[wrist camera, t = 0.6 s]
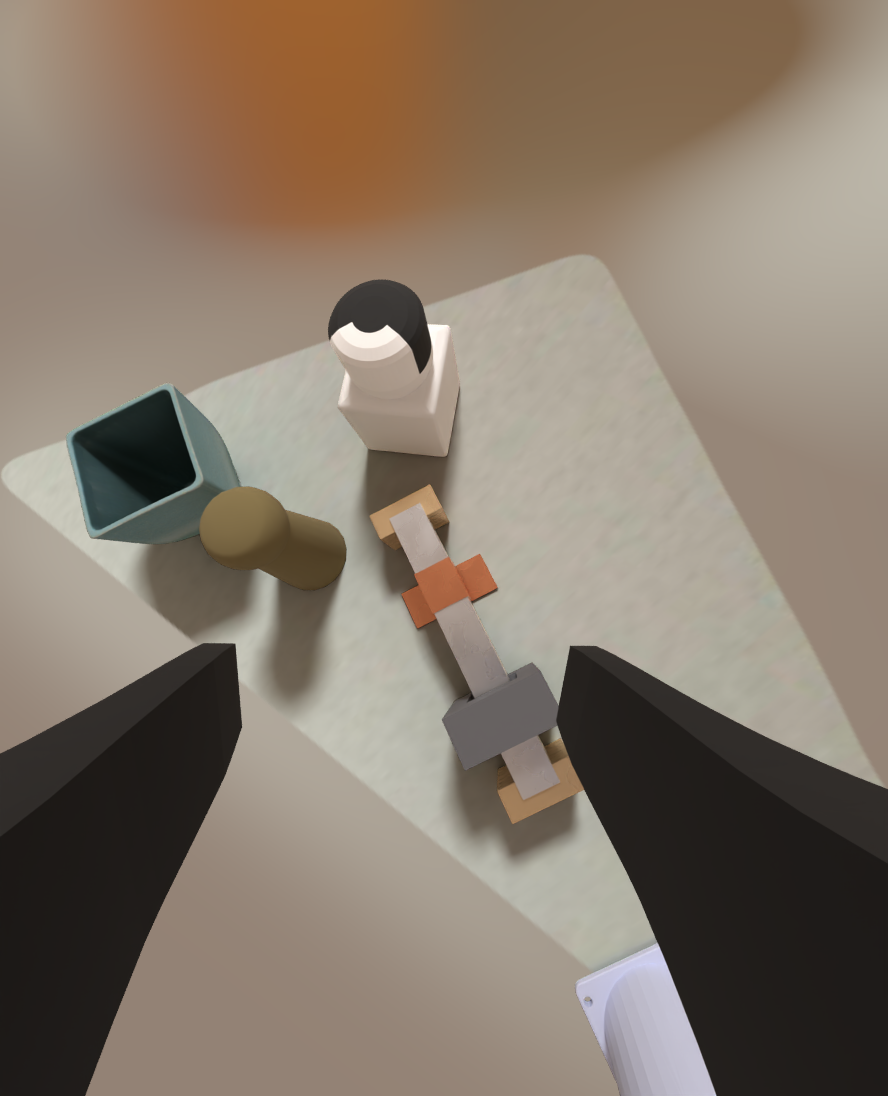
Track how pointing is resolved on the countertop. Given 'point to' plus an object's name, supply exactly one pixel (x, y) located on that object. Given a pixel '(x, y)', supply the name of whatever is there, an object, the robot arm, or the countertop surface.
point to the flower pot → (149, 469)
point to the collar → (501, 717)
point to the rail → (471, 644)
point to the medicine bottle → (394, 370)
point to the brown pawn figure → (271, 539)
